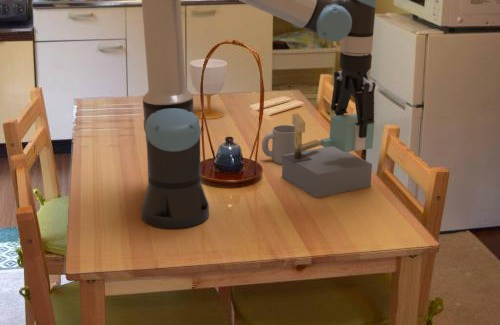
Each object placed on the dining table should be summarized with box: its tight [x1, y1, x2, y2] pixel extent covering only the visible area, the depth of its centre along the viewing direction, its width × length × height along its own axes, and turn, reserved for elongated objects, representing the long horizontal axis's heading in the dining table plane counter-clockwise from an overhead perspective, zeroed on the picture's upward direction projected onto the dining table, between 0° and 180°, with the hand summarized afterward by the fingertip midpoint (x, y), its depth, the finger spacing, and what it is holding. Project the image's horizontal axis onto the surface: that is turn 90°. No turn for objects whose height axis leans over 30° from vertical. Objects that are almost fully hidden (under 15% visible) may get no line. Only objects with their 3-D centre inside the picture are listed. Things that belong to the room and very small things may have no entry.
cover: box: [320, 113, 375, 153], centre depth 197 cm, size 10×7×7 cm, turn 117°
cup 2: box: [261, 124, 295, 165], centre depth 217 cm, size 7×10×9 cm
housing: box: [281, 146, 373, 199], centre depth 202 cm, size 16×16×6 cm
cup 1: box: [189, 58, 228, 120], centre depth 256 cm, size 12×12×17 cm
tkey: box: [291, 113, 321, 158], centre depth 201 cm, size 10×8×10 cm
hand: (349, 144), depth 198 cm, fingers closed on cover, 7 cm apart
